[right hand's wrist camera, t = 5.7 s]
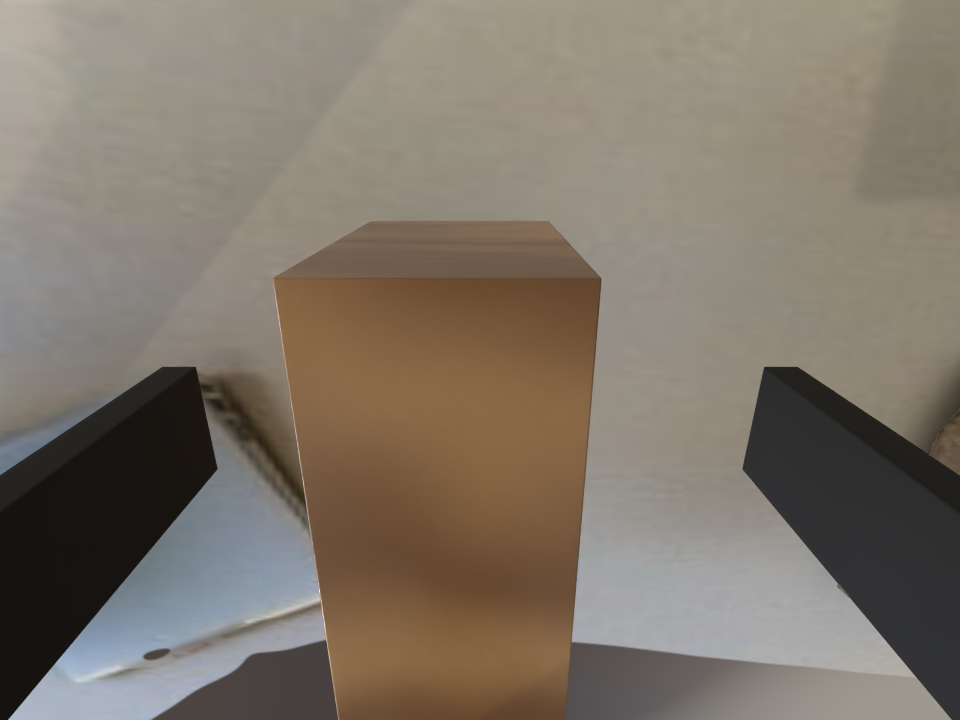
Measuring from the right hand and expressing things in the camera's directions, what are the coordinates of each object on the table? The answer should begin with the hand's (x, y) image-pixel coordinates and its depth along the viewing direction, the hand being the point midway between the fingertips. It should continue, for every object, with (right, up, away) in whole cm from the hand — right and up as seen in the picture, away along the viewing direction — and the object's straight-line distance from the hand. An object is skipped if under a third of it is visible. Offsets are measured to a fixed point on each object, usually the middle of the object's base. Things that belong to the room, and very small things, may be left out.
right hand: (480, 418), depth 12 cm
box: (-1, -6, +18) cm, 19 cm away
